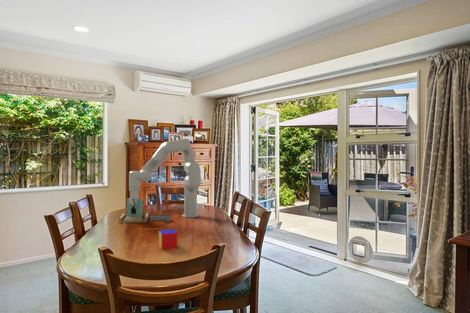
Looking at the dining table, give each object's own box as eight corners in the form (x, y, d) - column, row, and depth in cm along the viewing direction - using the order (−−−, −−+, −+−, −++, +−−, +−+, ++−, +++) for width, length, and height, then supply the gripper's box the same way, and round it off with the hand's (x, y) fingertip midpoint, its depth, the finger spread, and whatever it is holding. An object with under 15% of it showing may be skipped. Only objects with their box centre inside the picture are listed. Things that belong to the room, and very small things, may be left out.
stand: (150, 220, 227) (150, 214, 227) (170, 219, 229) (170, 214, 229) (149, 222, 219) (149, 217, 219) (170, 222, 222) (170, 216, 222)
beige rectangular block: (125, 220, 220) (125, 216, 220) (142, 220, 222) (142, 215, 222) (123, 222, 214) (123, 217, 214) (142, 221, 217) (142, 217, 217)
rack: (123, 219, 229) (123, 213, 229) (148, 218, 232) (148, 212, 232) (119, 224, 213) (119, 218, 213) (146, 223, 217) (146, 217, 217)
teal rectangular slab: (127, 219, 223) (127, 198, 223) (141, 219, 225) (141, 198, 225) (126, 220, 221) (126, 199, 221) (141, 219, 223) (141, 198, 223)
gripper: (130, 187, 230) (130, 210, 231) (127, 190, 213) (127, 215, 214) (141, 187, 232) (141, 210, 232) (138, 189, 215) (138, 214, 215)
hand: (134, 212), depth 223 cm, fingers open, 9 cm apart
